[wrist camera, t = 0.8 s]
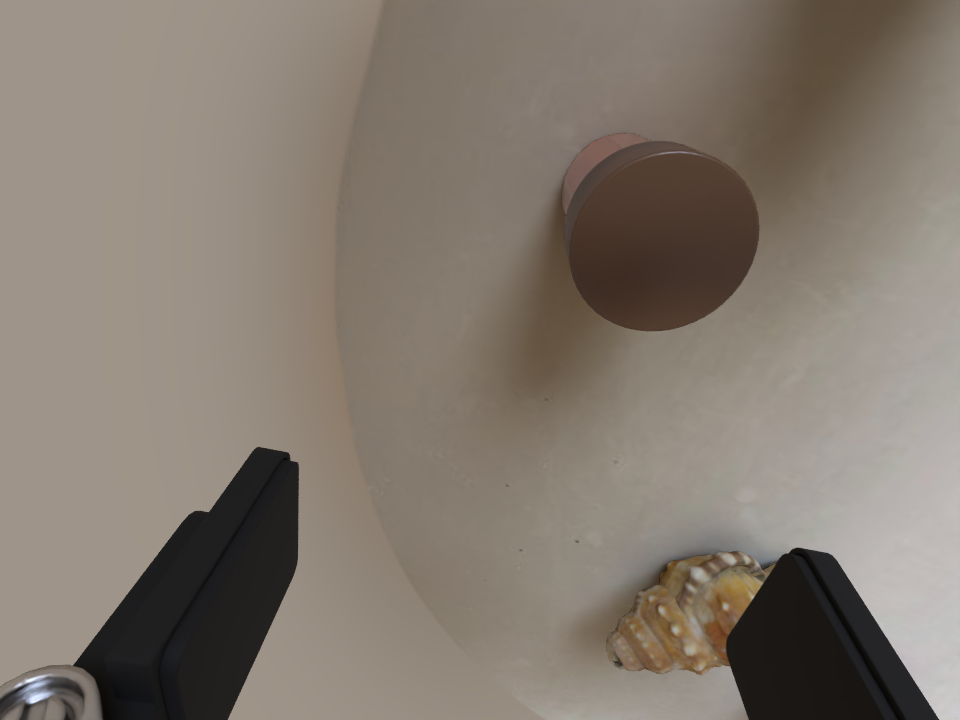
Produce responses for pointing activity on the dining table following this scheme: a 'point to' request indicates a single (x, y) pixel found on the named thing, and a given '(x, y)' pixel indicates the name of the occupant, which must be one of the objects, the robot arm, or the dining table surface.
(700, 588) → the seashell
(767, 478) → the dining table surface
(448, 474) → the dining table surface
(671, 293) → the walnut chip
